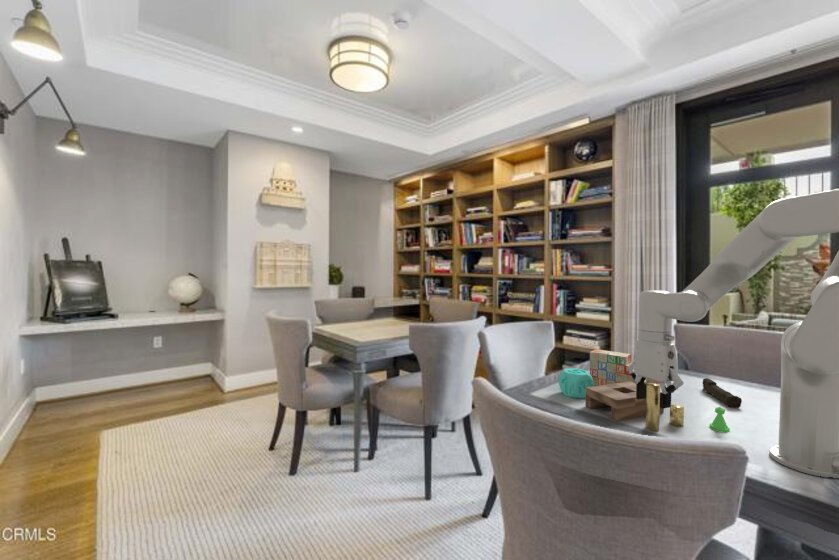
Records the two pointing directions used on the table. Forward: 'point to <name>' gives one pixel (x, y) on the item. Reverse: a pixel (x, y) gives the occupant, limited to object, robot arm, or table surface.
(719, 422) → the game piece
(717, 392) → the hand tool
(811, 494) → the table surface
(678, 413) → the short pin
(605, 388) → the bridge board
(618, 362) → the stack of blocks
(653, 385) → the tall pin
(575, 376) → the decorative dice
